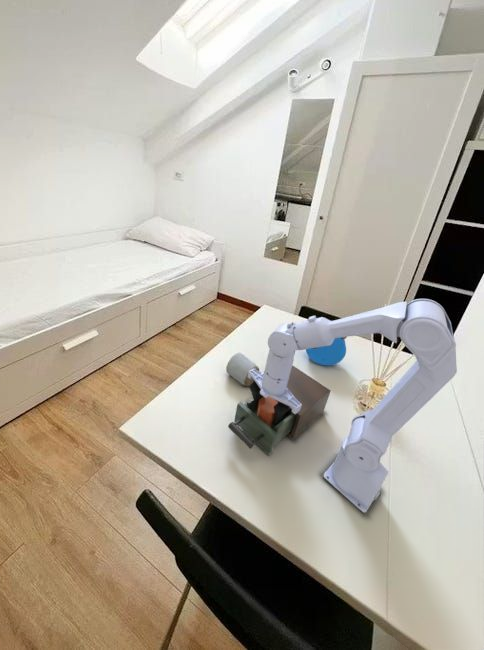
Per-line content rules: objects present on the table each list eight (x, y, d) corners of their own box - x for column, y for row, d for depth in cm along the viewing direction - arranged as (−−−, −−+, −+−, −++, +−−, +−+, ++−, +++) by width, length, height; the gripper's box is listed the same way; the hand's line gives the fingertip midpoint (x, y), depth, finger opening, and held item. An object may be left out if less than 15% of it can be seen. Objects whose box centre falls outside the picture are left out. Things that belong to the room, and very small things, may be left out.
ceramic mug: (244, 392, 87) (248, 371, 84) (224, 377, 92) (227, 357, 89) (264, 377, 94) (269, 357, 91) (244, 364, 99) (248, 345, 96)
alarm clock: (338, 360, 106) (350, 325, 100) (340, 371, 101) (352, 334, 95) (302, 351, 109) (311, 316, 104) (301, 360, 104) (311, 324, 98)
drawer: (254, 468, 65) (259, 448, 62) (219, 431, 72) (222, 412, 70) (301, 426, 76) (307, 408, 74) (267, 399, 84) (271, 381, 81)
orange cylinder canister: (280, 421, 73) (284, 406, 71) (267, 431, 70) (270, 416, 68) (264, 408, 77) (267, 393, 75) (251, 417, 74) (254, 402, 72)
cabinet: (293, 439, 73) (300, 415, 70) (255, 407, 82) (259, 384, 79) (323, 412, 83) (330, 390, 79) (286, 385, 91) (291, 364, 88)
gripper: (242, 361, 70) (235, 403, 75) (293, 398, 60) (280, 444, 66) (261, 351, 74) (253, 392, 80) (311, 385, 65) (298, 429, 70)
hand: (266, 415), depth 73 cm, fingers open, 5 cm apart
